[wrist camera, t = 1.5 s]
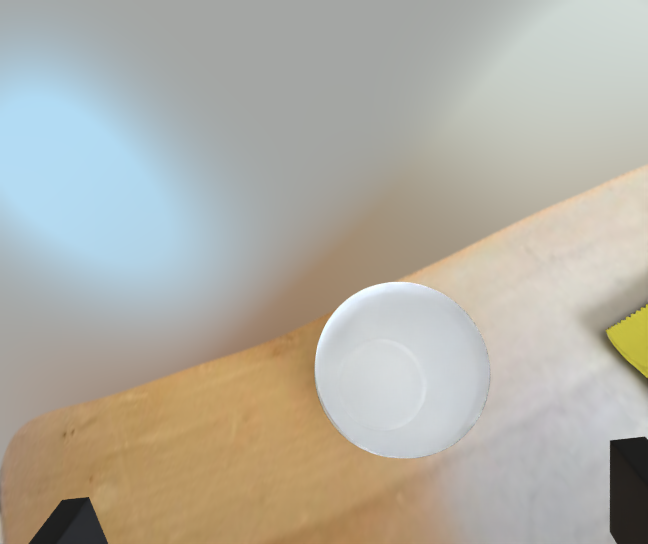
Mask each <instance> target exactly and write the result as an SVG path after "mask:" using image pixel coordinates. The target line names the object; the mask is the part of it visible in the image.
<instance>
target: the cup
mask: <svg viewBox="0 0 648 544" xmlns="http://www.w3.org/2000/svg"><path fill="white" fill-rule="evenodd" d="M314 374H315V384H316V390H317V394H318V398H319V400H320V403H321V406H322V408H323V410H324V412H325V414H326V415H327V417H328V419H329V420H330V421H331V423H332V424H333V425H334V427H335V428H336V429H337V430H338V431H339V432H340V433H341V434H342V435H343V436H344V437H345V438H346V439H347V440H349V441H350V442H352V443H353V444H354V445H356V446H358V447H359V448H361V449H363V450H365V451H368V452H370V453H373V454H376V455H380V456H384V457H391V458H419V457H425V456H429V455H432V454H436V453H438V452H440V451H443V450H445V449H447V448H448V447H450V446H452V445H453V444H455V443H456V442H458V441H459V440H460V439H461V438H462V437H463V436H465V435H466V434H467V432H468V431H469V430H470V429H471V428H472V427H473V425H474V424H475V423H476V421H477V419H478V418H479V416H480V414H481V412H482V410H483V408H484V405H485V402H486V399H487V396H488V391H489V385H490V364H489V358H488V353H487V349H486V346H485V343H484V341H483V338H482V336H481V334H480V332H479V330H478V328H477V327H476V325H475V323H474V322H473V321H472V319H471V318H470V317H469V315H468V314H467V313H466V312H465V311H464V310H463V309H462V308H461V307H460V306H459V305H458V304H457V303H455V302H454V301H453V300H452V299H450V298H449V297H447V296H446V295H444V294H442V293H440V292H438V291H436V290H434V289H432V288H429V287H426V286H423V285H420V284H415V283H408V282H389V283H383V284H378V285H375V286H371V287H368V288H366V289H364V290H362V291H360V292H358V293H356V294H354V295H353V296H351V297H350V298H348V299H347V300H346V301H345V302H344V303H343V304H341V305H340V306H339V307H338V308H337V309H336V311H335V312H334V313H333V314H332V316H331V317H330V319H329V320H328V322H327V323H326V325H325V327H324V329H323V331H322V334H321V336H320V339H319V342H318V347H317V351H316V359H315V372H314Z"/></svg>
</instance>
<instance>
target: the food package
mask: <svg viewBox="0 0 648 544" xmlns="http://www.w3.org/2000/svg"><path fill="white" fill-rule="evenodd" d="M606 332H607V335H608V338H609V339H610V341H611V342H612V344H613V345H614V346H615V347H616V349H617V350H618V351H619V352H620V354H621V355H622V356H623V357H624V358H625V359H626V360H627V361H628V362H630V363H631V364H632V365H633V366H634V367H635V368H637V369H638V370H639V371H640V372H641V373H642V374H643V375H645V376H646V377H647V378H648V304H646V305H645V308H643V307H641V309H640V311H637V310H636V312H635V314H631V315H630V317H626V318H625V320H621V321H620V323H618V322H617V325H615V324H614V327H613V326H611V328H608V330H606Z"/></svg>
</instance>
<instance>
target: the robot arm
mask: <svg viewBox="0 0 648 544" xmlns="http://www.w3.org/2000/svg"><path fill="white" fill-rule="evenodd" d="M610 533H611V535H612V536H613V538H614V539H615V541H616V542H617V544H648V440H647V438H646V437H638V438H629V439H619V440H610ZM29 544H108V542H107V540H106V537H105V535H104V533H103V530H102V528H101V525H100V523H99V521H98V518H97V516H96V513H95V511H94V509H93V506H92V504H91V501H90V499H89V497H86V498H76V499H67V500H62V501H61V502H60V503H59V505H58V506H57V507H56V509H55V510H54V511H53V513H52V514H51V515H50V517H49V518H48V519H47V520H46V522H45V523H44V524H43V526H42V527H41V528H40V530H39V531H38V532H37V534H36V535H35V536H34V537H33V539H32V540H31V541H30V543H29Z"/></svg>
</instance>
